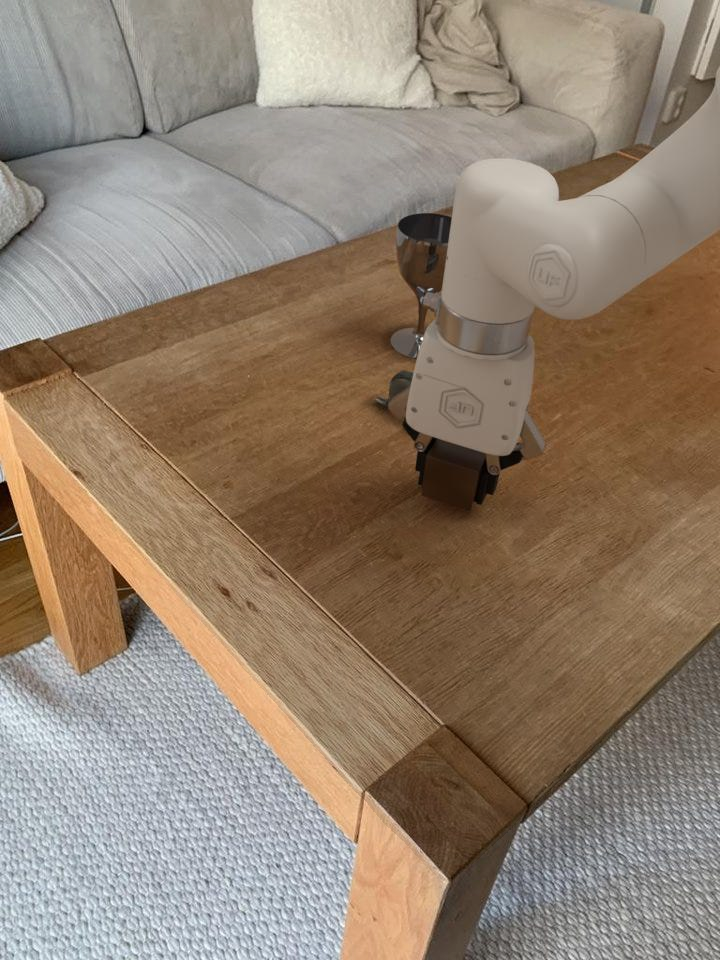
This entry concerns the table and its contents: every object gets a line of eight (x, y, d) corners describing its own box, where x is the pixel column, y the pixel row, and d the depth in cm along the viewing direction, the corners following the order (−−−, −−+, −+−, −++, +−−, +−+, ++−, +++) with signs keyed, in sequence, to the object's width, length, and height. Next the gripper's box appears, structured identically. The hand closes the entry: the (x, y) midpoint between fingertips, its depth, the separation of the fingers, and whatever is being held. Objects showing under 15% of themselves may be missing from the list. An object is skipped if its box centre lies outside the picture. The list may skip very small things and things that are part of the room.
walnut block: (486, 481, 80) (494, 441, 77) (470, 512, 76) (478, 472, 73) (438, 465, 81) (444, 425, 78) (420, 496, 78) (426, 455, 74)
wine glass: (448, 364, 98) (466, 247, 88) (382, 355, 99) (393, 238, 89) (453, 330, 104) (470, 217, 94) (391, 322, 105) (402, 209, 95)
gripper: (370, 315, 66) (357, 482, 78) (577, 371, 62) (530, 540, 74) (403, 276, 72) (387, 439, 84) (596, 326, 67) (549, 490, 79)
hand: (454, 485), depth 79 cm, fingers closed on walnut block, 5 cm apart
